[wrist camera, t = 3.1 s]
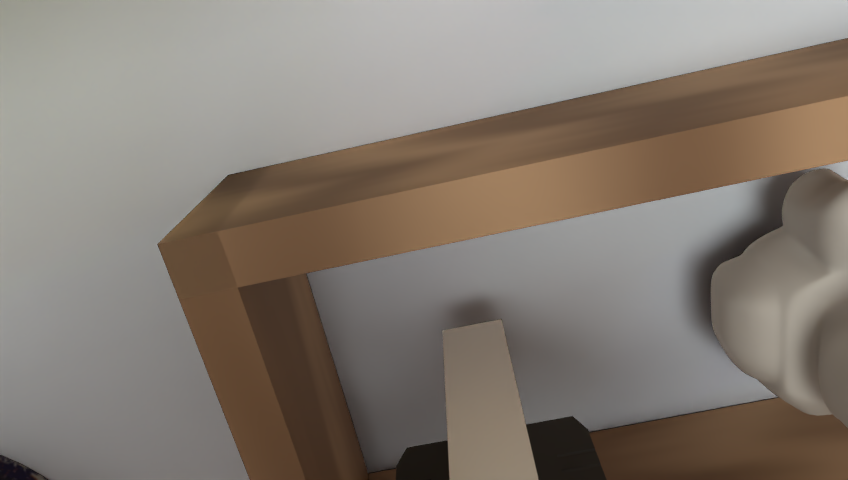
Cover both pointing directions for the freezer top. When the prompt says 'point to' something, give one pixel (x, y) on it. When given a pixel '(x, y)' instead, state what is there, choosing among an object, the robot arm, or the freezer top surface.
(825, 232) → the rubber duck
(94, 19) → the freezer top surface
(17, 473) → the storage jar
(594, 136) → the shelf bay
